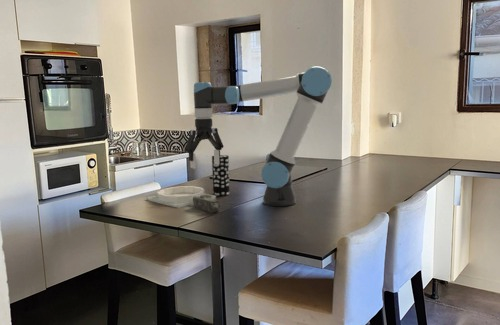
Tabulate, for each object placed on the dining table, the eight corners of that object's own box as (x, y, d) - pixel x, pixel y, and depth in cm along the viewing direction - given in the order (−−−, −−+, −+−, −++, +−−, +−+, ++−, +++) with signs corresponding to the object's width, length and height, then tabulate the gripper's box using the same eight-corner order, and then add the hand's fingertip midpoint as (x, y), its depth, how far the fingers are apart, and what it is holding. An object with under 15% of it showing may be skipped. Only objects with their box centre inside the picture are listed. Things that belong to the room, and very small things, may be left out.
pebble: (196, 201, 212) (191, 196, 210) (200, 203, 210) (195, 198, 208) (191, 207, 211) (186, 202, 210) (195, 209, 209) (190, 204, 207)
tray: (216, 199, 223) (216, 195, 223) (177, 209, 206) (177, 205, 206) (184, 192, 239) (184, 189, 239) (147, 201, 222) (146, 197, 222)
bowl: (214, 198, 223) (213, 190, 222) (177, 207, 207) (177, 198, 206) (184, 192, 238) (184, 184, 237) (149, 200, 222) (148, 191, 221)
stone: (222, 217, 205) (226, 200, 200) (211, 224, 200) (215, 206, 195) (200, 201, 212) (204, 184, 206) (189, 207, 206) (192, 189, 201)
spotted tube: (214, 198, 226) (213, 157, 223) (211, 194, 234) (210, 155, 231) (231, 196, 228) (230, 156, 225) (227, 193, 236) (226, 154, 233)
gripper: (219, 116, 211) (220, 161, 215) (175, 119, 194) (177, 169, 197) (230, 116, 206) (231, 163, 209) (185, 120, 189) (188, 170, 192)
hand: (205, 166), depth 203 cm, fingers open, 13 cm apart
